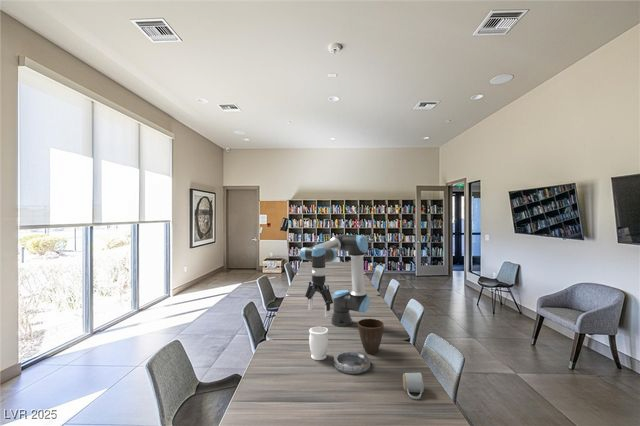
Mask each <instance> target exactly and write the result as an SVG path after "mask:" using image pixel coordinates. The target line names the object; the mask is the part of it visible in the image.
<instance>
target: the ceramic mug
mask: <svg viewBox="0 0 640 426" xmlns="http://www.w3.org/2000/svg"><path fill="white" fill-rule="evenodd" d="M402 385H403V389H404V391H405V392H407V394H408V396H409V397H410V399H412V400H420V399H421V398H422V394H423V393H424V381H423V375H422V373H421V372H405V373H403V374H402ZM410 393H419V394H418V395H417V396H414V395H412V394H410Z"/></svg>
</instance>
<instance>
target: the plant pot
mask: <svg viewBox="0 0 640 426" xmlns="http://www.w3.org/2000/svg"><path fill="white" fill-rule="evenodd" d="M384 325H385V323H384V322H383V321H381V320H379V319H376V318H363V319H360V320H358V321H357V327H358V333H359V338H360V341H361V345H362V348H363V350H364V352H366V353H367V354H371V355H372V354H373V355H374V354H376V353H378V351H379V348H380V346H381V342H382V339H383V332H384Z"/></svg>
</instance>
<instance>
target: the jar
mask: <svg viewBox="0 0 640 426" xmlns="http://www.w3.org/2000/svg"><path fill="white" fill-rule="evenodd" d="M308 332H309V338H308V343H309V344H308V345H309V350H310V353H311V355H310V356H311V358H312V360H315V361H323V360H325V359H326V358H327V353H328V347H329V336H328V333H329V329H328V328H327V327H324V326H312V327H311V328H309V330H308Z"/></svg>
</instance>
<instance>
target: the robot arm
mask: <svg viewBox="0 0 640 426" xmlns="http://www.w3.org/2000/svg"><path fill="white" fill-rule="evenodd" d="M368 250H369V242H368V239H367V238H366V236H364V235H360V234H342V235H341V234H340V235H338V236H334V237H332V238H330V239H329V240H328V241H324V242H321V243H319V244H316V245H315V244H314V245H313V246H309V247H308V246H306V247H305V246H304V247H303V246H302V247H301V249H300V250H299V257H300V259H301V260H304V261H311V274H312V275H311V281H309V282H308V286H307V291H306V293H305V295H304V296H305V298H307V305H308V309H307V311H308V312H310V311H313V310H314V299H313V297H314V296H315V294H316V293H319V294H320V295H321V297H322V299H323V301H324V303H325V304H324V318H328V317H330V310H331V305H333V311H332V316H331V319H330V324H332V325H333V326H336V327H349V326H350V325H352V323H353V319H352V316H351V313H350V311H352V312H356V313H357V312H358V313H365V314H366V312H367V311H368V310H369V307H370V305H371V297H370V296H369V295H368V292H367V291H366V290H365V269H364V268H365V267H364V265H365V264H364V256H366V253H367V252H368ZM338 251H340V252H348V256H350V265H351V267H350V268H351V291H350V290H348V289H341V290H336V291H334V292H333V296H332V294H331V292H330V286H329V285H328V284H327V285H325V283H326V263H330V262H333V261H335V260H336V259H337V256H338ZM332 297H333V298H332Z"/></svg>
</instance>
